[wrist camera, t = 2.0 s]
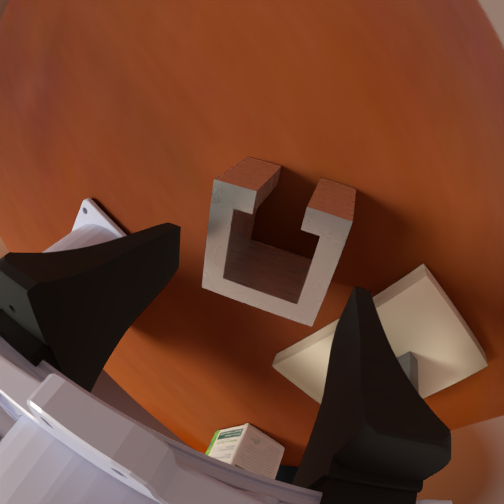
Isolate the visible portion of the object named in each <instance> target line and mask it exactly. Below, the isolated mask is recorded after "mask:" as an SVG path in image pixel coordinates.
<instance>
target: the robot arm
mask: <svg viewBox="0 0 504 504" xmlns="http://www.w3.org/2000/svg"><path fill="white" fill-rule="evenodd" d="M180 230H181V227H180V226H177V225H174V224H171V223H164V224H160V225H157V226H154V227H151V228H148V229H145V230H142V231H139V232H136V233H133V234H130V235H126V234H125V233H124V232H123V231H122V230H121V229H120V228H119V227H118V226H117V225H116V224H115V223H114V222H113V221H112V220H111V219H110V218H109V217H108V216H107V215H106V214H105V213H104V212H103V211H102V210H101V209H100V207H99V206H98V205H97V204H96V203H95V202H94V201H93V200H92V199H90V198H87V199H85V200H84V201H83V203H82V205H81V208H80V210H79V213H78V216H77V218H76V221H75V224H74V226H73V229H72V232H71V233H70V234H68V235H67V236H65V237H64V238H62V239H61V240H59V241H58V242H57V243H55V244H54V245H52V246H51V247H49V248H48V249H46V250H45V251H44V252H42V253H12V252H10V253H8V254H6V255H5V256H4V257H2V258H1V259H0V504H452V501H450V500H432V499H423V500H418V501H416V497H417V492H420V491H421V490H422V487H423V480H425V479H427V478H428V477H430V476H432V475H433V474H435V473H437V472H438V471H440V470H441V469H443V468H444V467H445V466H446V465H447V464H448V463H449V461H450V460H451V433H450V430H449V428H448V427H447V426H446V425H445V424H444V423H443V422H442V421H441V420H440V419H439V418H438V417H437V416H436V415H435V414H434V412H433V411H432V410H431V409H430V407H429V406H428V405H427V404H426V402H425V401H424V400H423V399H422V397H421V396H420V395H419V393H418V392H417V391H416V389H415V388H414V386H413V385H412V383H411V382H410V380H409V379H408V377H407V375H406V374H405V372H404V370H403V369H402V367H401V365H400V363H399V361H398V360H397V358H396V356H395V354H394V352H393V350H392V348H391V345H390V343H389V341H388V339H387V336H386V334H385V331H384V329H383V326H382V324H381V321H380V318H379V316H378V313H377V310H376V307H375V304H374V301H373V298H372V295H371V293H370V291H368V290H366V289H363V288H360V287H357V286H355V287H354V289H353V291H352V293H351V296H350V298H349V300H348V302H347V304H346V306H345V308H344V310H343V313H342V315H341V317H340V319H339V321H338V323H337V326H336V330H335V333H334V337H333V341H332V344H331V350H330V356H329V363H328V369H327V375H326V381H325V387H324V393H323V397H322V402H321V405H320V409H319V412H318V415H317V418H316V422H315V425H314V428H313V431H312V433H311V436H310V439H309V442H308V445H307V447H306V450H305V453H304V455H303V458H302V461H301V463H300V466H299V468H298V470H297V473H296V475H295V477H294V480H293V482H292V484H288V483H284V482H281V481H277V480H274V479H271V478H268V477H265V476H262V475H259V474H256V473H253V472H250V471H247V470H244V469H241V468H239V467H236V466H233V465H231V464H228V463H225V462H223V461H220V460H218V459H215V458H213V457H210V456H208V455H206V454H203V453H201V452H199V451H196V450H194V449H192V448H190V447H187V446H185V445H183V444H181V443H179V442H177V441H174V440H172V439H170V438H168V437H166V436H164V435H162V434H160V433H158V432H156V431H154V430H152V429H151V428H149V427H147V426H145V425H143V424H141V423H139V422H138V421H136V420H134V419H132V418H130V417H129V416H126V415H125V414H123V413H122V412H120V411H118V410H117V409H115V408H113V407H111V406H110V405H108V404H107V403H105V402H103V401H102V400H100V399H99V398H97V397H96V396H94V395H92V394H91V393H90V392H91V390H92V388H93V386H94V384H95V382H96V380H97V378H98V376H99V374H100V373H101V371H102V369H103V367H104V366H105V364H106V362H107V360H108V359H109V357H110V355H111V354H112V352H113V351H114V349H115V347H116V346H117V344H118V343H119V341H120V340H121V338H122V337H123V335H124V334H125V332H126V331H127V330H128V328H129V327H130V325H131V324H132V323H133V322H134V320H135V319H136V318H137V317H138V316H139V315H140V314H141V313H142V311H143V310H144V309H145V308H146V307H147V306H148V305H149V304H150V303H151V302H152V300H153V299H154V298H155V297H156V296H157V295H158V294H159V293H160V292H161V291H162V289H163V288H164V287H165V286H166V285H167V283H168V282H169V281H170V279H171V278H172V276H173V275H174V273H175V272H176V270H177V269H178V267H179V248H180Z"/></svg>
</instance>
